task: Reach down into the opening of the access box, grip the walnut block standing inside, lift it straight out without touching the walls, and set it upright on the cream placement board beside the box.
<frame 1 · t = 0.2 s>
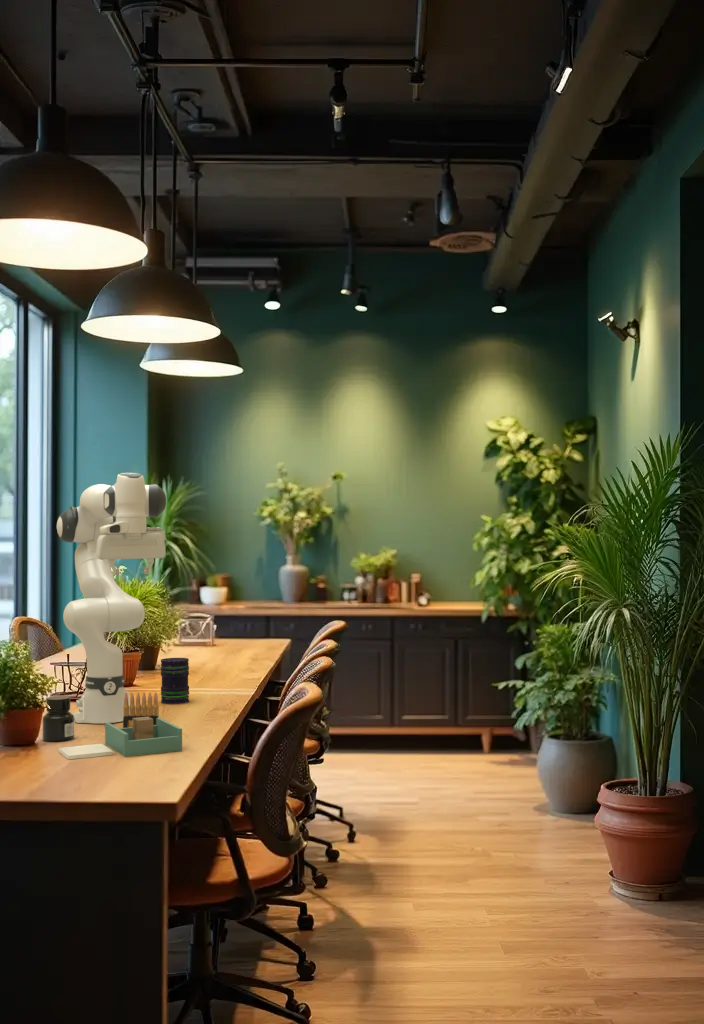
hand: (131, 574, 320), 47 cm above the table, fingers open, 8 cm apart
ammunition clip: (141, 733, 326), on the table
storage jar: (175, 702, 383), on the table
placement board: (85, 753, 296), on the table
ink bottle: (58, 739, 317), on the table
walnut block: (142, 733, 304), in the access box
access box: (143, 747, 304), on the table
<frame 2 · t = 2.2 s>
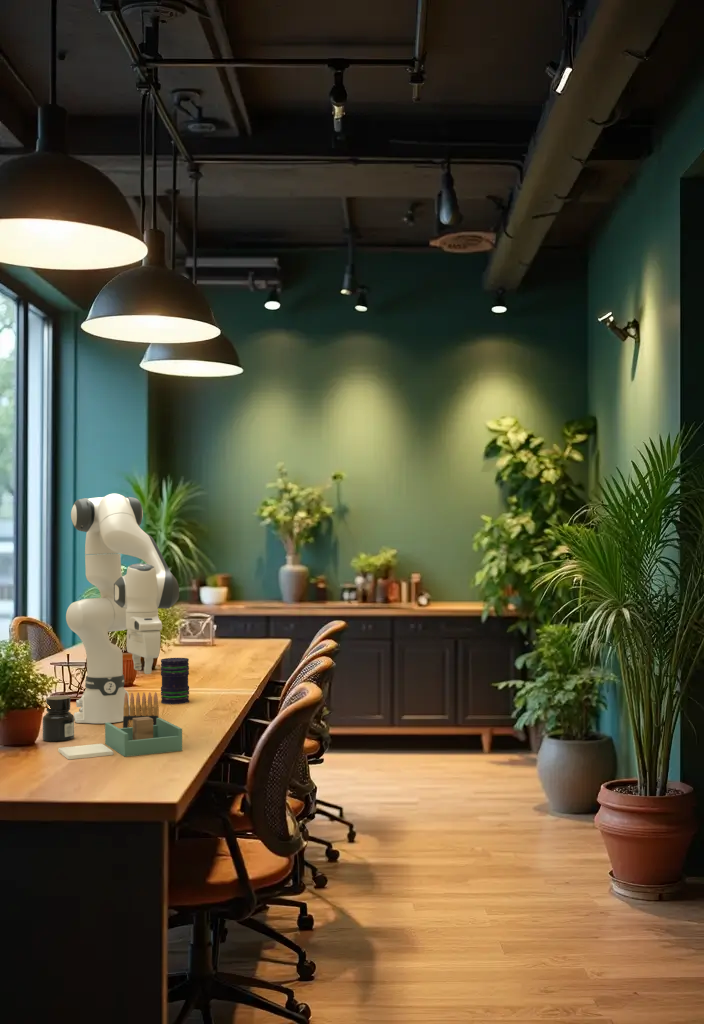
hand: (142, 671, 304), 21 cm above the table, fingers open, 8 cm apart
nothing on the table moved.
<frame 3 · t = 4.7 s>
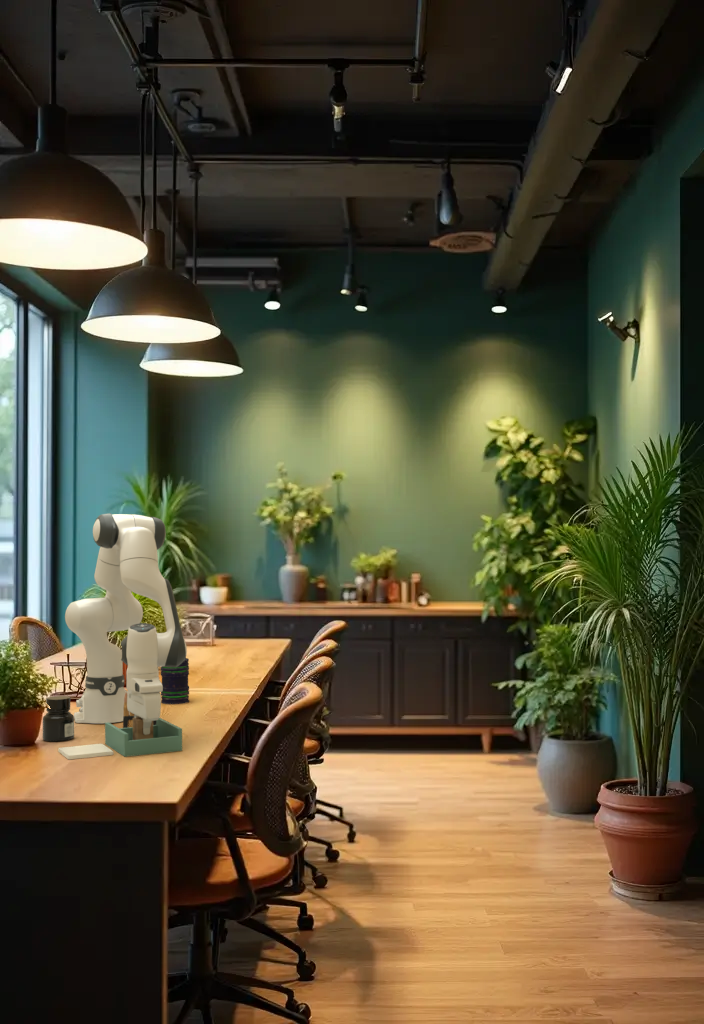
hand: (143, 732, 304), 4 cm above the table, fingers closed on walnut block, 4 cm apart
walnut block: (142, 732, 304), in the access box, touching gripper
everything else where it was.
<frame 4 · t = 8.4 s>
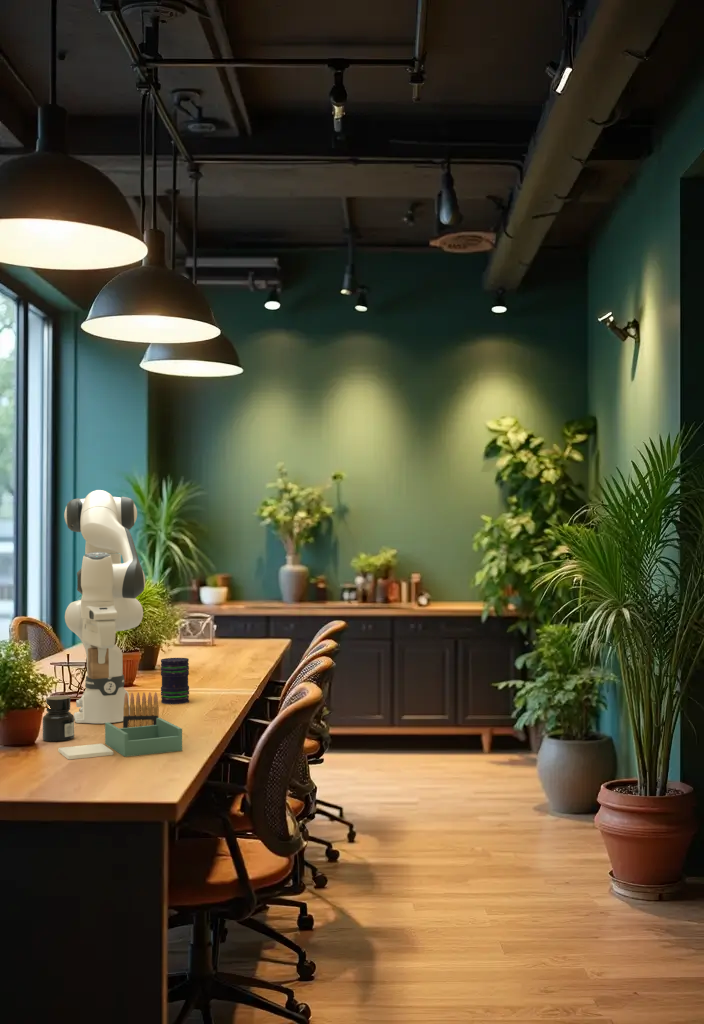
hand: (98, 662, 298), 24 cm above the table, fingers closed on walnut block, 4 cm apart
walnut block: (98, 662, 298), point 24 cm above the table, touching gripper
everything else where it was.
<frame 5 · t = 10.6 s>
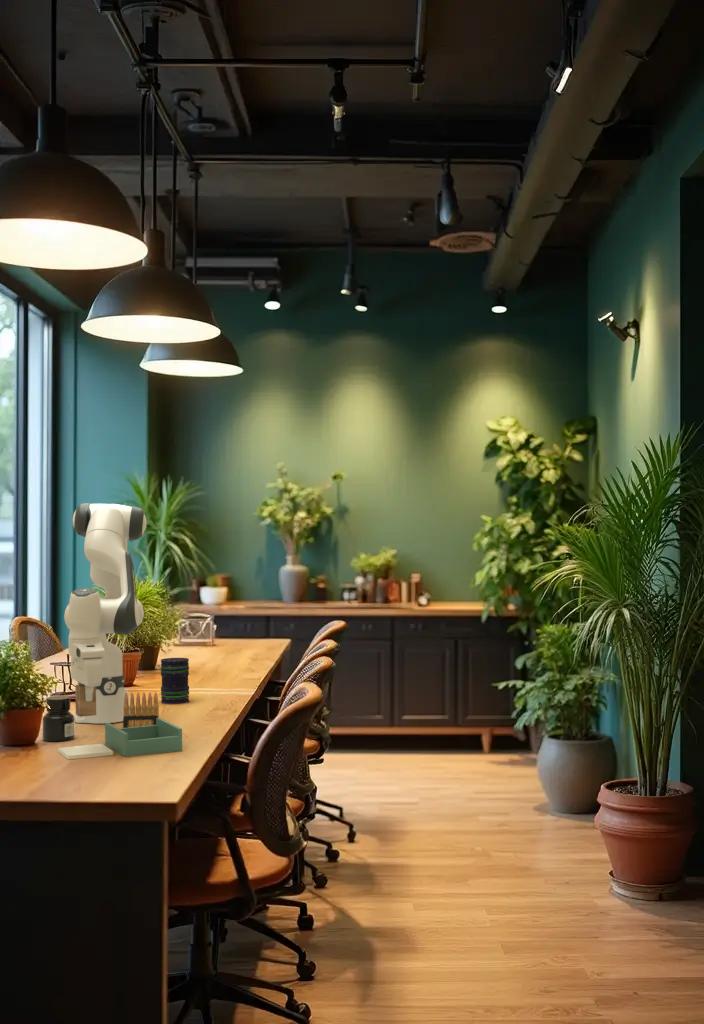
hand: (85, 699, 296), 15 cm above the table, fingers closed on walnut block, 4 cm apart
walnut block: (85, 700, 297), point 14 cm above the table, touching gripper
everything else where it was.
when the fingers open (7 cm above the table, at t = 12.5 s): walnut block drops 1 cm, resting on placement board.
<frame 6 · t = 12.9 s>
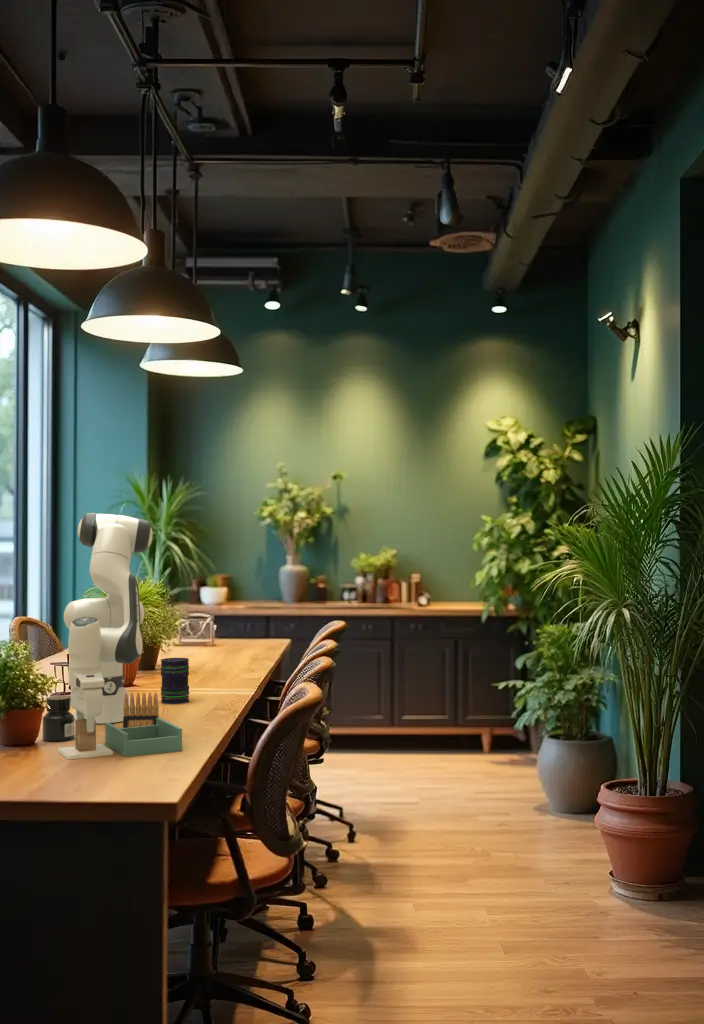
hand: (85, 728, 296), 7 cm above the table, fingers open, 8 cm apart
walnut block: (85, 734, 297), on the placement board, point 5 cm above the table
everything else where it was.
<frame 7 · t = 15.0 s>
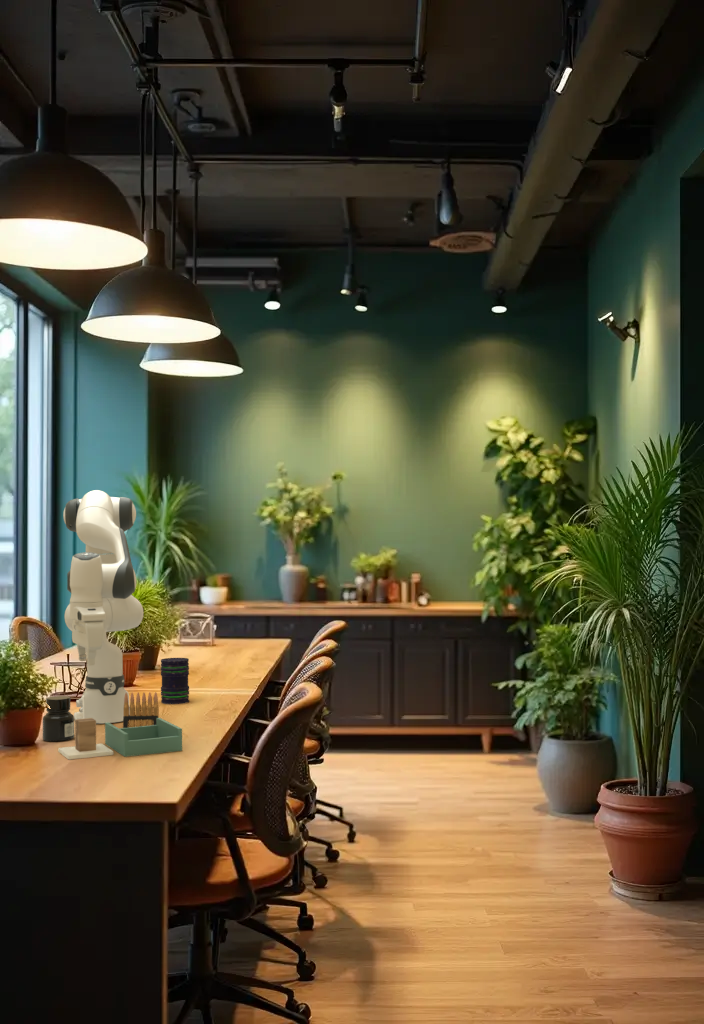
hand: (86, 662, 298), 24 cm above the table, fingers open, 8 cm apart
nothing on the table moved.
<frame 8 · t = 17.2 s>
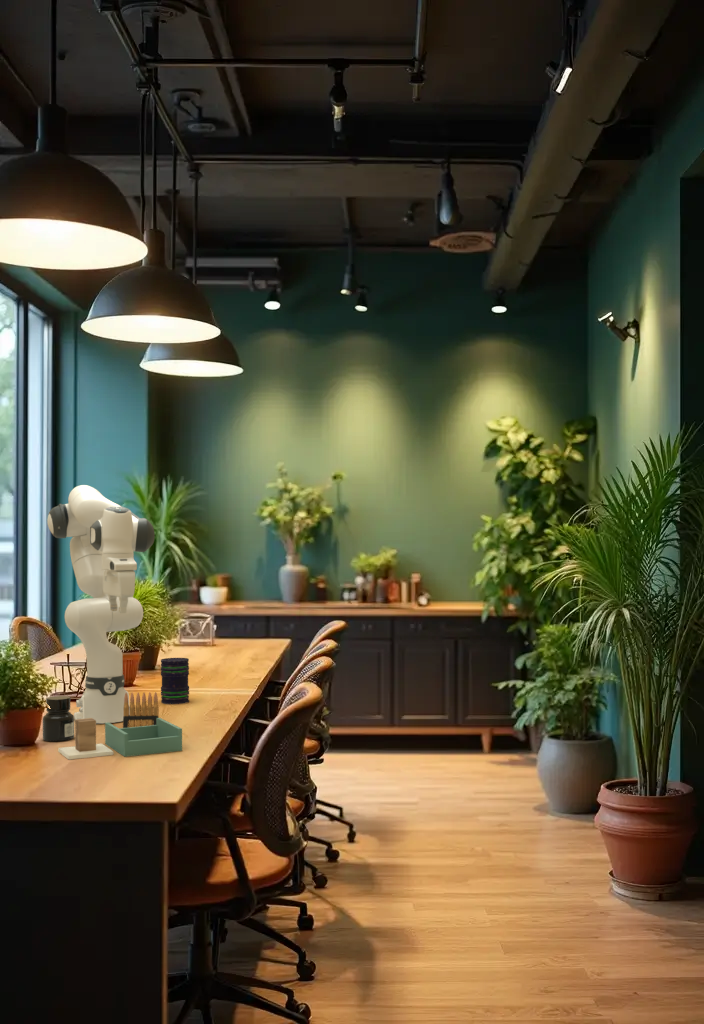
hand: (118, 612, 311), 37 cm above the table, fingers open, 8 cm apart
nothing on the table moved.
at the end: walnut block inside the target area on the placement board (0.1 cm from its centre), point 5.0 cm above the placement board's base; walnut block tilted 0°; walnut block touching placement board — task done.
